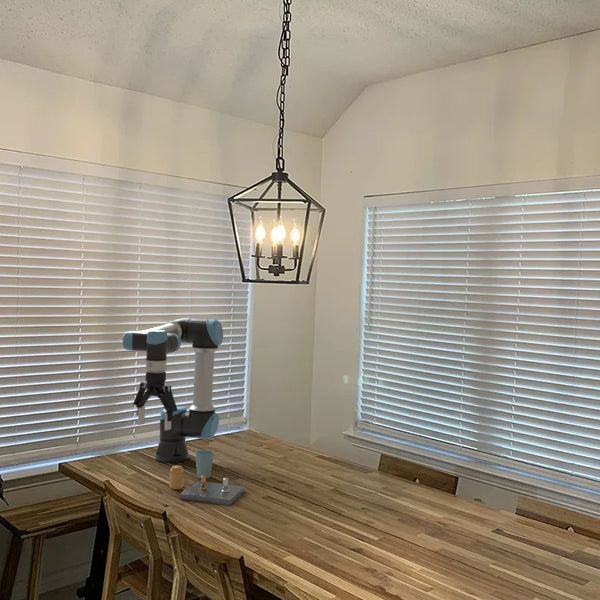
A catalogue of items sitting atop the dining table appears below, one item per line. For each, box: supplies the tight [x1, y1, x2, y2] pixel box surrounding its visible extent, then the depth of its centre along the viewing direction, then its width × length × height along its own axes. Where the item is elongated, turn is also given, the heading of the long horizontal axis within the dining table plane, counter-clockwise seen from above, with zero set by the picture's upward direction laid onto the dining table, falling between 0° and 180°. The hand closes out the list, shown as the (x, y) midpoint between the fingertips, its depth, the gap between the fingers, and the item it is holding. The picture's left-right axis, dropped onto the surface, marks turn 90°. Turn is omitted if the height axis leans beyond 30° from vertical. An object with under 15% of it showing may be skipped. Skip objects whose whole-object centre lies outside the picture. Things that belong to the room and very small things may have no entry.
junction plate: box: [179, 475, 245, 506], centre depth 240 cm, size 16×20×7 cm
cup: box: [194, 449, 215, 479], centre depth 263 cm, size 8×8×10 cm
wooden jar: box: [168, 464, 185, 490], centre depth 248 cm, size 5×5×8 cm
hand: (154, 426), depth 238 cm, fingers open, 13 cm apart
